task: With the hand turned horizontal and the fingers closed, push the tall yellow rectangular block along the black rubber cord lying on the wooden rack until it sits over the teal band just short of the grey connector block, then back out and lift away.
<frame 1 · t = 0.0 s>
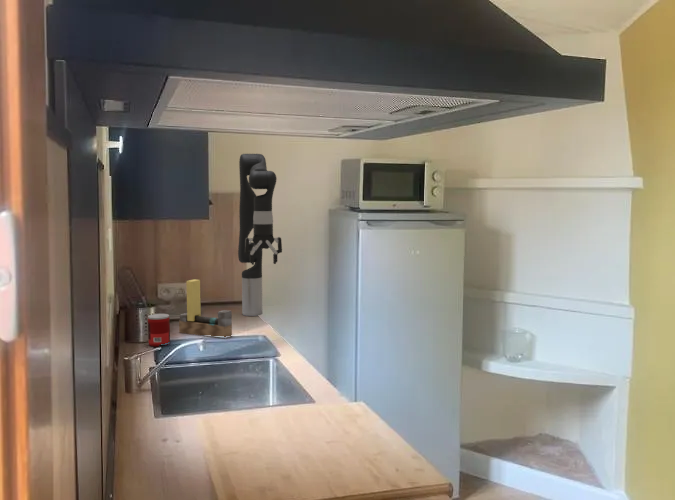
hand: (263, 264, 258), 29 cm above the worktop, tool pointing down, fingers open, 8 cm apart
canned food: (159, 344, 252), on the worktop
yellow rectangular block: (193, 300, 268), point 14 cm above the worktop, slide at -5.5 cm
wooden rack: (205, 334, 267), on the worktop
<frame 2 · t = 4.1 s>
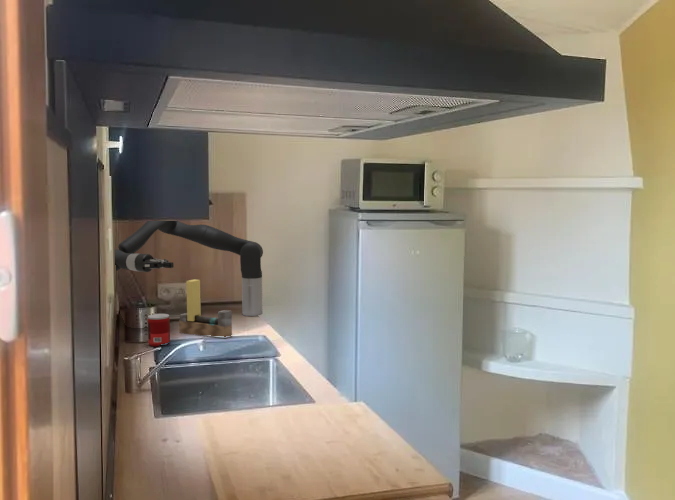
hand: (172, 265, 271), 27 cm above the worktop, tool horizontal, fingers closed
nothing on the worktop moved.
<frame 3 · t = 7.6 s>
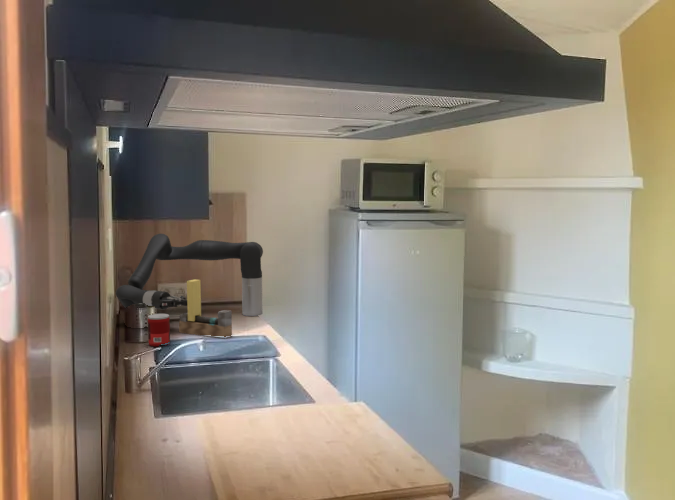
hand: (189, 303, 268), 12 cm above the worktop, tool horizontal, fingers closed
yellow rectangular block: (194, 300, 268), point 14 cm above the worktop, slide at -5.3 cm, touching gripper
everything else where it was.
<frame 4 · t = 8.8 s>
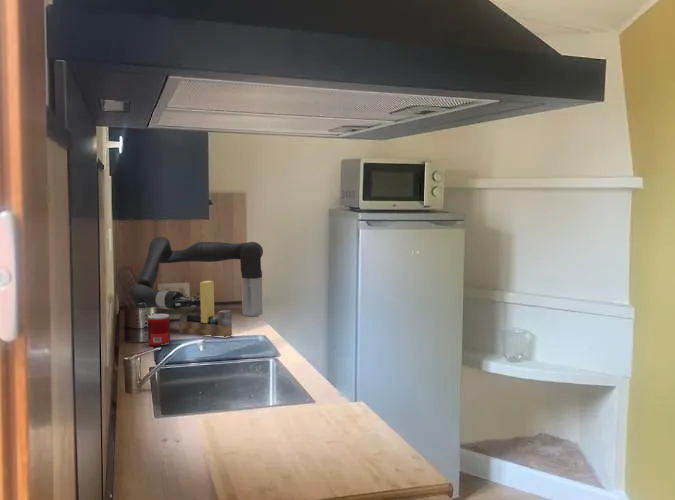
hand: (203, 303, 265), 13 cm above the worktop, tool horizontal, fingers closed
yellow rectangular block: (207, 301, 265), point 14 cm above the worktop, slide at 1.4 cm, touching gripper
everything else where it was.
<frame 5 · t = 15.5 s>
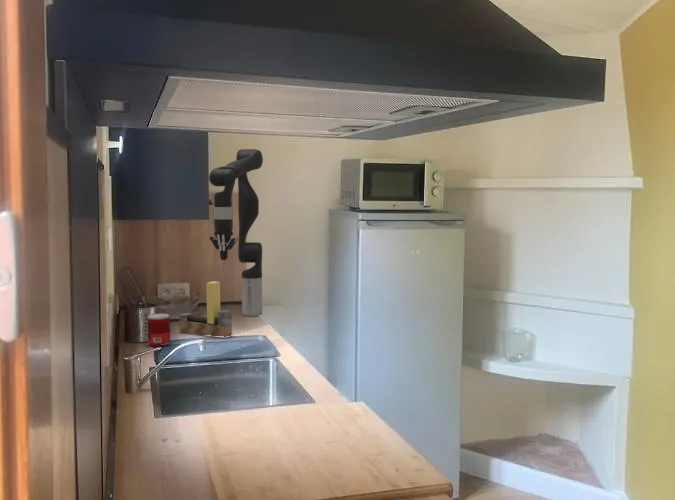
hand: (224, 259, 274), 29 cm above the worktop, tool pointing down, fingers closed
yellow rectangular block: (213, 302, 263), point 14 cm above the worktop, slide at 4.4 cm
everything else where it was.
at the end: yellow rectangular block slide at 4.4 cm; yellow rectangular block touching nothing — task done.
